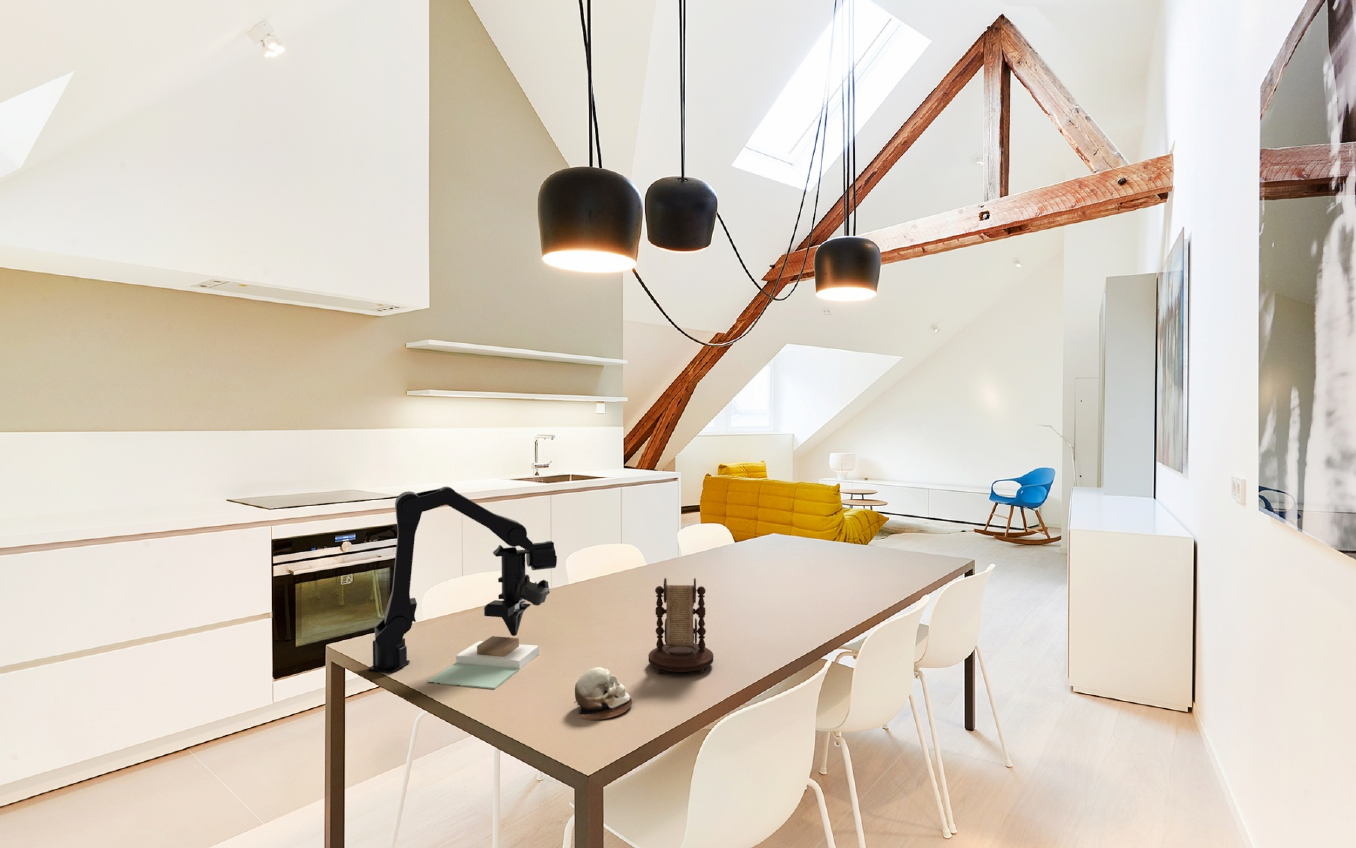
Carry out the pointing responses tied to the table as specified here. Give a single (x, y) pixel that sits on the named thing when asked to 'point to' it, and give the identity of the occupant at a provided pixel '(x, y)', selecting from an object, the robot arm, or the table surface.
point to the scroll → (680, 630)
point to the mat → (474, 675)
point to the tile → (498, 646)
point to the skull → (600, 695)
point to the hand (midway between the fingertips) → (514, 635)
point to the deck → (511, 660)
